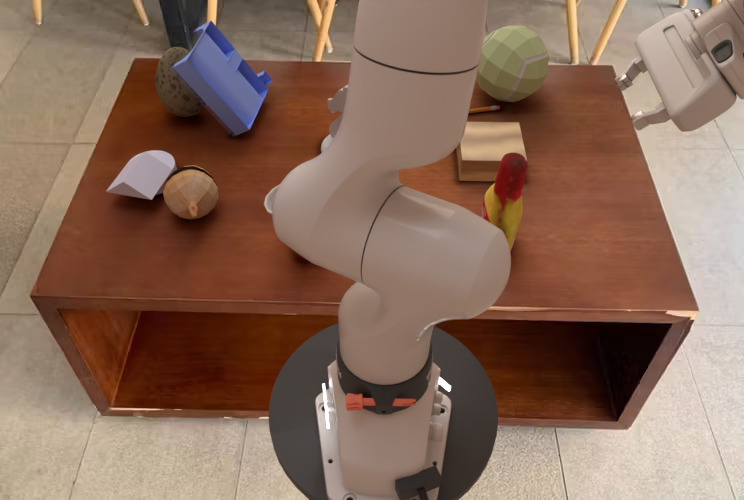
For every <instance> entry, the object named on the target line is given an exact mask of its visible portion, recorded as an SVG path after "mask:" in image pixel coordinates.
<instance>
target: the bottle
mask: <svg viewBox="0 0 744 500" xmlns="http://www.w3.org/2000/svg"><path fill="white" fill-rule="evenodd" d="M528 167H529V166H528V160H527V161H526V159H525V158H524V156H523V155H521V154H519V153H515V152H512V153H507V154H505V155H504V156H503V158H502V160H501V163H500V166H499V169H498V173H497V176H496V181H494V183H493V184H492V185H490V187H489V188H488V189H487V190H486V192H485V193H484V196H483V199H482V208H481V214H480V215H481V216H480V217H482V218H483V219H485V220H487V221H488V222H490V223H491V224H493V225H494V226H496V227H498V228H499V229H501V230H502V231H503V232H504V234H505V236H506V238H507V241H508V244H509V248H510V252H511V251H512V250H513V247H514V244H515V240H516V236H517V233H518V230H519V227H520V224H521V220H522V217H523V211H524V210H523V209H524V208H523V207H524V205H523V204H524V203H523V196H522V193H523V189H524V188H523V187H524V184H525V180H526V173H527V170H528Z"/></svg>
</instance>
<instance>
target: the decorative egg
mask: <svg viewBox="0 0 744 500" xmlns="http://www.w3.org/2000/svg"><path fill="white" fill-rule="evenodd" d="M190 52H191V50H189V49H187V48H184V47H181V46H172V47H169V48H168V49H167V50H166V51H164V53H163V54H162V56H161V57H160V58H159V61H158V63H157V66H156V71H155V78H154V85H155V91H156V94H157V97H158V99H159V102H160V103H161V104H162V106H163V107H164V108H165V109H166V110H167V111H169V112H170V113H172V114H173V115H175V116H178V117H182V118H183V117H184V118H187V117H188V118H189V117H194V116H196V115H198V114H200V113H202V111H203V110H204V109H205V108H206V107H207V106H208V105H207V104H206V103H205V102H204V101H203V100H202V98H201V97H200V96H199V95H198V94H197V93H196V92H194V90H193V89H192V88H191V87H190V86H189V84H188V83H187V82H186V81H185V80H184V79H183V78H180V77H181V76H180V75H179V74H178V73H177V71H176V70H175V69H174V68H173V67H171V66H174V65H175V64H176V63H177V62H179V61H181V60H182V59H183V58H184V57H186V56H187V55H188V54H189V53H190ZM173 70H174V71H175V72H176V73H177V74H176V73H175V72H174V71H173ZM174 73H175V74H174ZM179 78H180V80H181V81H182V82H183V83H182V82H181V81H180V80H179ZM184 82H185V83H184ZM186 84H187V85H188V86H189V87H188V86H187V85H186ZM192 92H193V93H192ZM193 94H194V95H195V96H196V97H197V96H198V97H197V98H196V97H195V96H194V95H193ZM199 98H200V99H201V100H202V102H200V101H201V100H200V99H199Z"/></svg>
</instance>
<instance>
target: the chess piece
mask: <svg viewBox="0 0 744 500" xmlns="http://www.w3.org/2000/svg"><path fill="white" fill-rule="evenodd" d="M347 89H348V84H346V85H344V86H343V87H342V88H340V89H339V90H337V91H336V93H335V94H334V96H333V97H329V98H328V99H327V100H326V107H327V110H329V112H330V113H331V114H335V113H336V112H339V113H341V114H340V115H339V116H338V117H337V118H335V119H334V120H333V121H332V122H331V123H330V124H329V126H328V132H329V134H328V135H327V136H326V137H325V138H324V139H323V140H322V142H321V145H320V151H321V153H322V152H323V151H325V150H326V148H327V147H328V146H329V145H330V144H331V142H332V141H333V139H334V137H335V135H336V133H337V131H338V129H339V126H340V124H341V121H342V117H343V112H344V107H345V101H346V95H347ZM321 153H320V154H321Z"/></svg>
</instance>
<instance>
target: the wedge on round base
mask: <svg viewBox="0 0 744 500" xmlns="http://www.w3.org/2000/svg"><path fill="white" fill-rule="evenodd" d="M177 169H178V167H177V164H176V160H175V158H174V156H173V155H172V154H171V153H169V152H167V151H164V150H159V149H158V150H157V149H156V150H155V149H153V150H147V151H143V152H140V153H138V154H136V155H134V156H133V157H132V158H130V159H129V161H128V162H127V163H126V164H125V166H124V167H123V168H122V170H121V171H120V172H119V174H118V175H117V176H116V177H115V178H114V180H113V181H112V182H111V184H110V185H109V186H108V188H107V189H106V191H105V193H108V194H115V195H121V196H128V197H132V198H137V199H144V200H151V201H152V200H153V199H154V197H155V196H157V195H160V194H163V191H164V189H163V188H164V185H165V182H166V179H167V178H168V177H169V176H170V175H171V173H172V172H173V171H175V170H177ZM161 192H162V193H161Z"/></svg>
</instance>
